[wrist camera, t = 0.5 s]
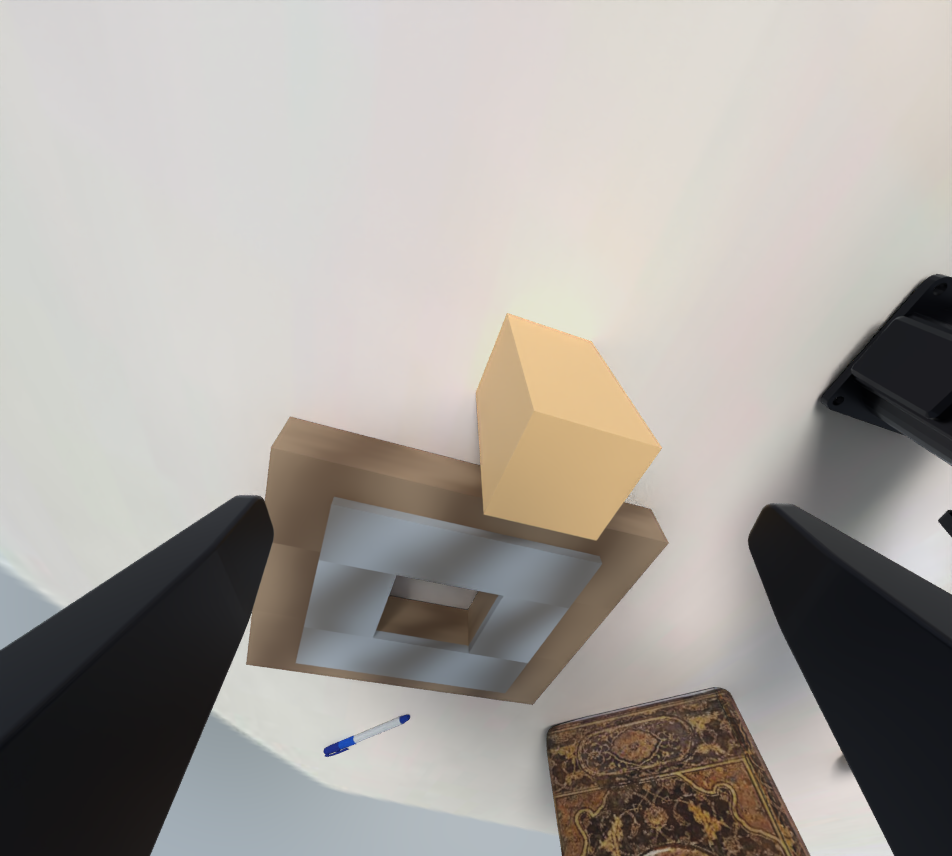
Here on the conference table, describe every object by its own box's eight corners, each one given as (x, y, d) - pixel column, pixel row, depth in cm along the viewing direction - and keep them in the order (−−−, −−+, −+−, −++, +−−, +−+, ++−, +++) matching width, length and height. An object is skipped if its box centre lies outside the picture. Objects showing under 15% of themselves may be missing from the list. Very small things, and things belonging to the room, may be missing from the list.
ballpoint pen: (330, 748, 41) (327, 761, 40) (323, 745, 41) (320, 758, 40) (411, 713, 38) (410, 726, 37) (404, 709, 37) (402, 722, 37)
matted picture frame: (651, 509, 25) (672, 550, 22) (528, 670, 34) (533, 712, 31) (290, 416, 21) (266, 454, 18) (261, 627, 30) (242, 672, 27)
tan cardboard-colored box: (591, 341, 19) (662, 447, 12) (553, 415, 21) (596, 540, 14) (507, 313, 18) (534, 410, 12) (476, 392, 20) (483, 514, 14)
